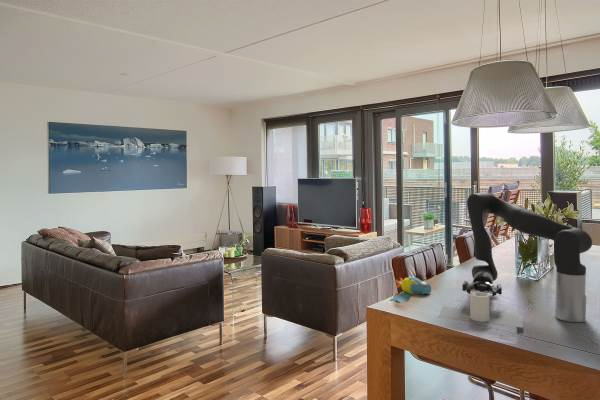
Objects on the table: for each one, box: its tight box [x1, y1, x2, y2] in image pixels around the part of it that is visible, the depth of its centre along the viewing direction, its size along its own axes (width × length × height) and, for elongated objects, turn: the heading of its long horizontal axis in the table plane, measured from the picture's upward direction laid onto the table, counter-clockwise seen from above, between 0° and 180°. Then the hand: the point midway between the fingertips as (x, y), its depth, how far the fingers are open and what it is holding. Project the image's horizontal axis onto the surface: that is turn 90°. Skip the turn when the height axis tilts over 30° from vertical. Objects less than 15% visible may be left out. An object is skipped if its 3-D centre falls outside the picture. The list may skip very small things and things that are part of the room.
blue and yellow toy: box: [389, 275, 432, 304], centre depth 194 cm, size 28×9×15 cm
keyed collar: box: [469, 291, 491, 323], centre depth 159 cm, size 7×6×9 cm
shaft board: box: [438, 305, 524, 333], centre depth 161 cm, size 28×14×10 cm, turn 65°
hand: (481, 292), depth 166 cm, fingers open, 8 cm apart
